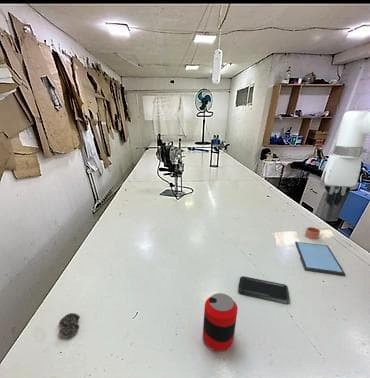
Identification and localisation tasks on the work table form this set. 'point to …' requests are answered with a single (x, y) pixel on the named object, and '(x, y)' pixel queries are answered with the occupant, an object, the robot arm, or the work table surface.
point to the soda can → (219, 322)
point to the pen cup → (312, 233)
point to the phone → (264, 289)
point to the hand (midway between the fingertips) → (332, 203)
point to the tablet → (318, 259)
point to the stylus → (331, 207)
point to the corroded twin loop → (69, 325)
